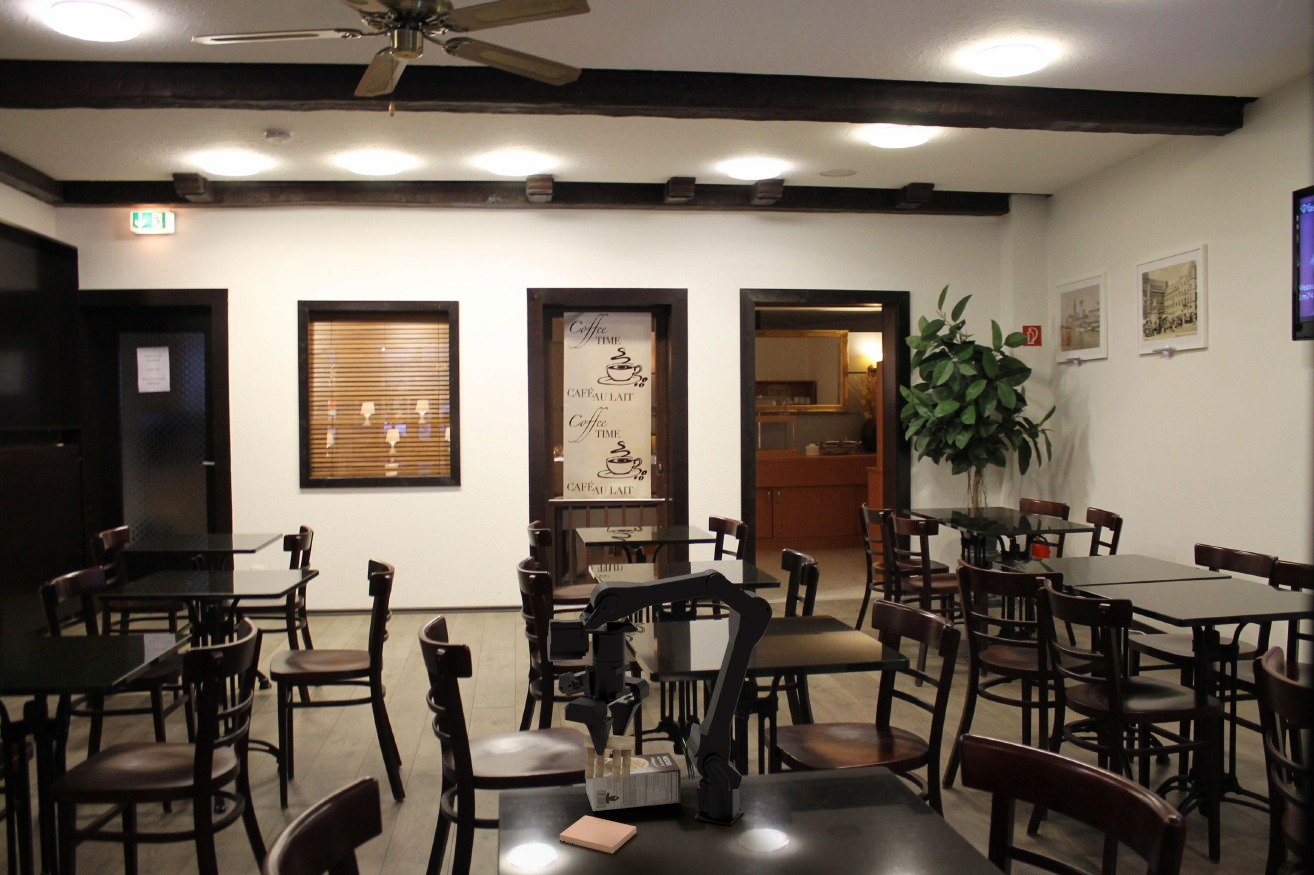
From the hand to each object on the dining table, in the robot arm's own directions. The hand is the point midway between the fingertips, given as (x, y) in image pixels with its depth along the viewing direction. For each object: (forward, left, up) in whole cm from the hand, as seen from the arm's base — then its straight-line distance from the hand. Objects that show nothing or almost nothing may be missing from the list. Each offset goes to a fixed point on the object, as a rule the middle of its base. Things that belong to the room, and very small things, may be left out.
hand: (608, 749), depth 151 cm
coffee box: (+8, -7, -10) cm, 14 cm away
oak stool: (-1, +2, -4) cm, 5 cm away
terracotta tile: (0, +4, -13) cm, 14 cm away
